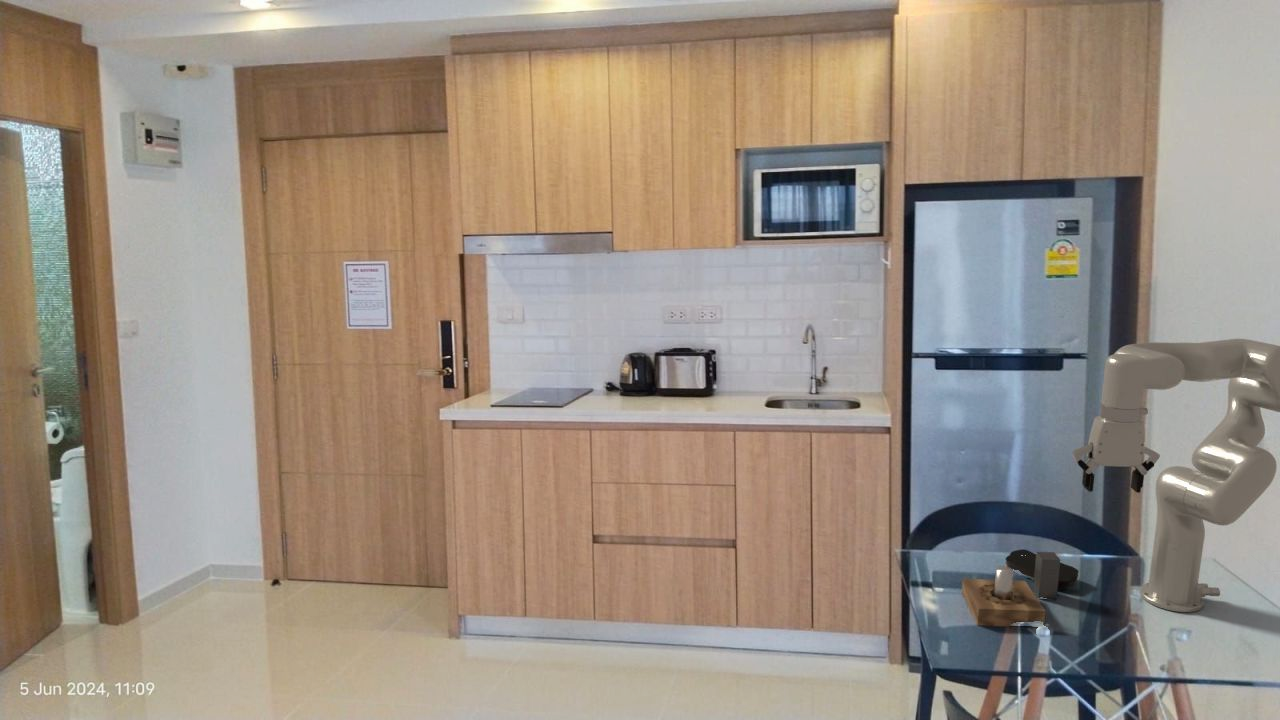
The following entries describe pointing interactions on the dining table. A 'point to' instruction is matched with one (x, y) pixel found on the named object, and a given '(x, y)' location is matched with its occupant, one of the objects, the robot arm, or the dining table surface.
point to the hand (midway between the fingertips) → (1111, 489)
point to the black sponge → (1028, 567)
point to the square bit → (1046, 575)
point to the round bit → (1003, 583)
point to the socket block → (1001, 603)
